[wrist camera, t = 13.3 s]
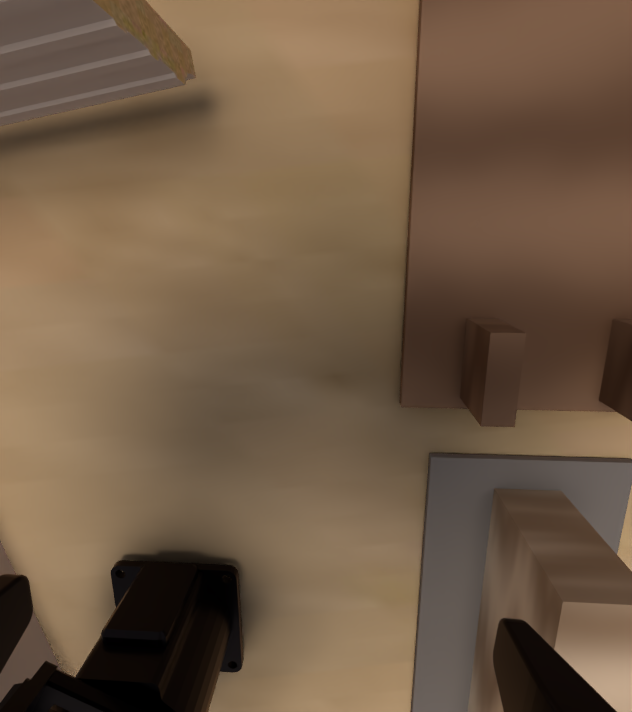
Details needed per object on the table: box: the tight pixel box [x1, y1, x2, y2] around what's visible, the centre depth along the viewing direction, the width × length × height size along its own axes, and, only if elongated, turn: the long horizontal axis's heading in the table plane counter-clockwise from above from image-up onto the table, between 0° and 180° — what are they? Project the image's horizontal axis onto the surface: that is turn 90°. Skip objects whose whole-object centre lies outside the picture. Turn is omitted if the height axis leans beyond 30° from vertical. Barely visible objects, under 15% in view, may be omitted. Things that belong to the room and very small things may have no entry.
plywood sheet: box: [468, 488, 632, 712], centre depth 18 cm, size 14×3×6 cm, turn 0°
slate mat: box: [411, 453, 632, 712], centre depth 22 cm, size 17×9×1 cm, turn 0°
